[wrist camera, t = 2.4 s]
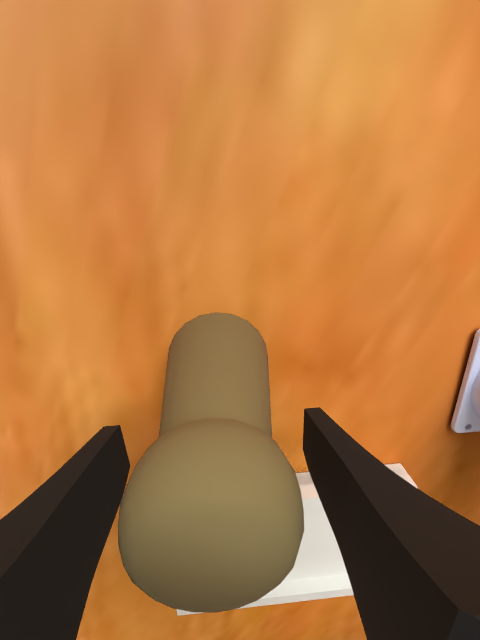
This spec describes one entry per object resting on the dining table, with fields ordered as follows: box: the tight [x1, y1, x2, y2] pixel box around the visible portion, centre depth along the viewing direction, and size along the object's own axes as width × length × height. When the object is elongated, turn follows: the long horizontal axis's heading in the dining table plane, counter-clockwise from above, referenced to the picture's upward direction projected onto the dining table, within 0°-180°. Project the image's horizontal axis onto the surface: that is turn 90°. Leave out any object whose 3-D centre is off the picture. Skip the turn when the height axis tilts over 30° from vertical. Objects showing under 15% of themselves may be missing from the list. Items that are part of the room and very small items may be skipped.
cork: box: [118, 313, 304, 612], centre depth 12 cm, size 6×6×11 cm
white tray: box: [176, 463, 418, 616], centre depth 22 cm, size 18×12×2 cm, turn 93°
